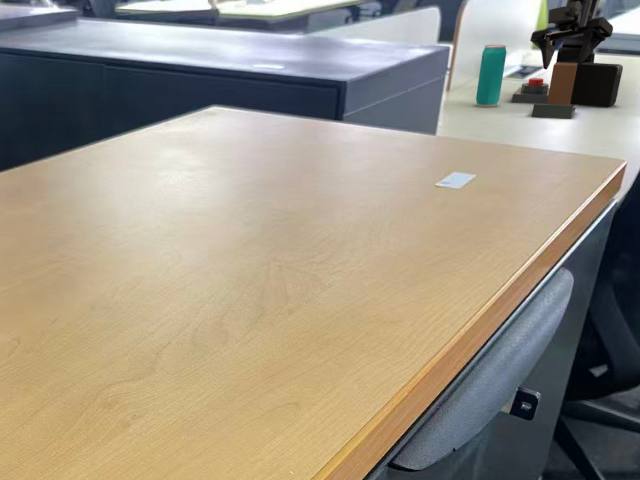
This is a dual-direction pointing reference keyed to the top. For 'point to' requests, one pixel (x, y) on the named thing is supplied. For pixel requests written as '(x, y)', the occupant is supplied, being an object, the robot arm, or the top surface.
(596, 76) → the electronic device
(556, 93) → the brown box
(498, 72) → the beverage can
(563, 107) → the block
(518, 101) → the power panel
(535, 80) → the power button
